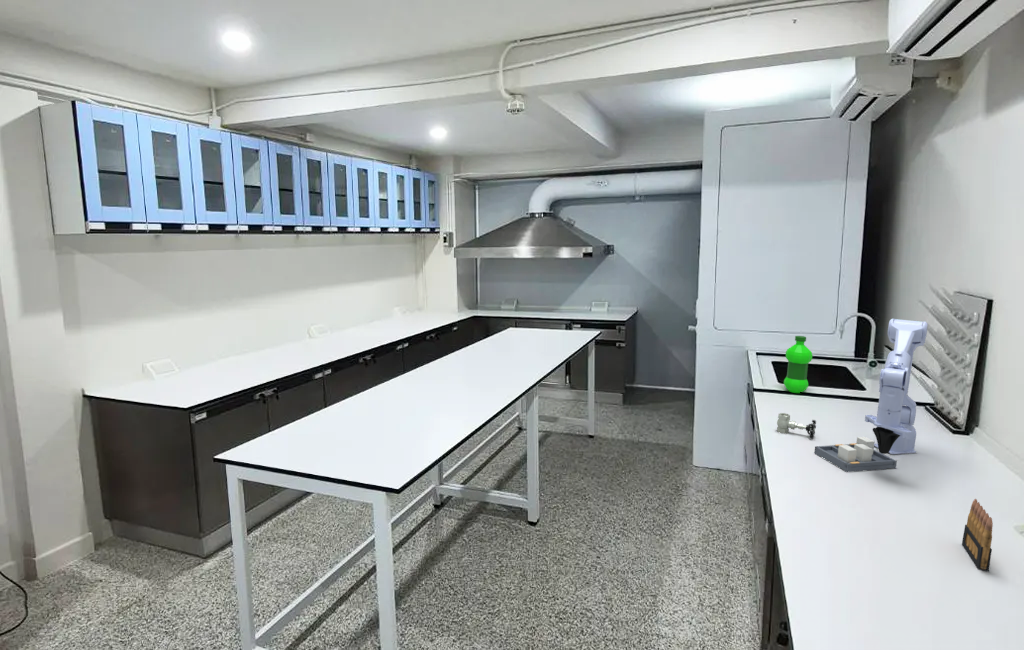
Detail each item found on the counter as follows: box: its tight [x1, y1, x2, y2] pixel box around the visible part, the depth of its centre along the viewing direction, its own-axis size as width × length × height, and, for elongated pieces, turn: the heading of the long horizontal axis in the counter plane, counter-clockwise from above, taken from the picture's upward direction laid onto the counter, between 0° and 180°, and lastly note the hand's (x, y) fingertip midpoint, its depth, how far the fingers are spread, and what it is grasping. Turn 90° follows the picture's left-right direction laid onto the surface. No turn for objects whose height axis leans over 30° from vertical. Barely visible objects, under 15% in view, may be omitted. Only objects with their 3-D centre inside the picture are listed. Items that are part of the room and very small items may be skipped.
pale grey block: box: [856, 436, 876, 455], centre depth 178 cm, size 3×4×4 cm
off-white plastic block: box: [838, 444, 857, 463], centre depth 171 cm, size 3×4×4 cm
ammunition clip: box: [961, 498, 994, 572], centre depth 123 cm, size 11×2×12 cm, turn 156°
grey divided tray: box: [813, 442, 898, 473], centre depth 175 cm, size 17×14×3 cm
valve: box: [776, 412, 817, 439], centre depth 197 cm, size 7×7×12 cm
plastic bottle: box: [783, 335, 813, 394], centre depth 246 cm, size 10×10×25 cm
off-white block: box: [854, 444, 873, 462], centre depth 172 cm, size 3×4×4 cm
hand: (883, 452), depth 164 cm, fingers closed
